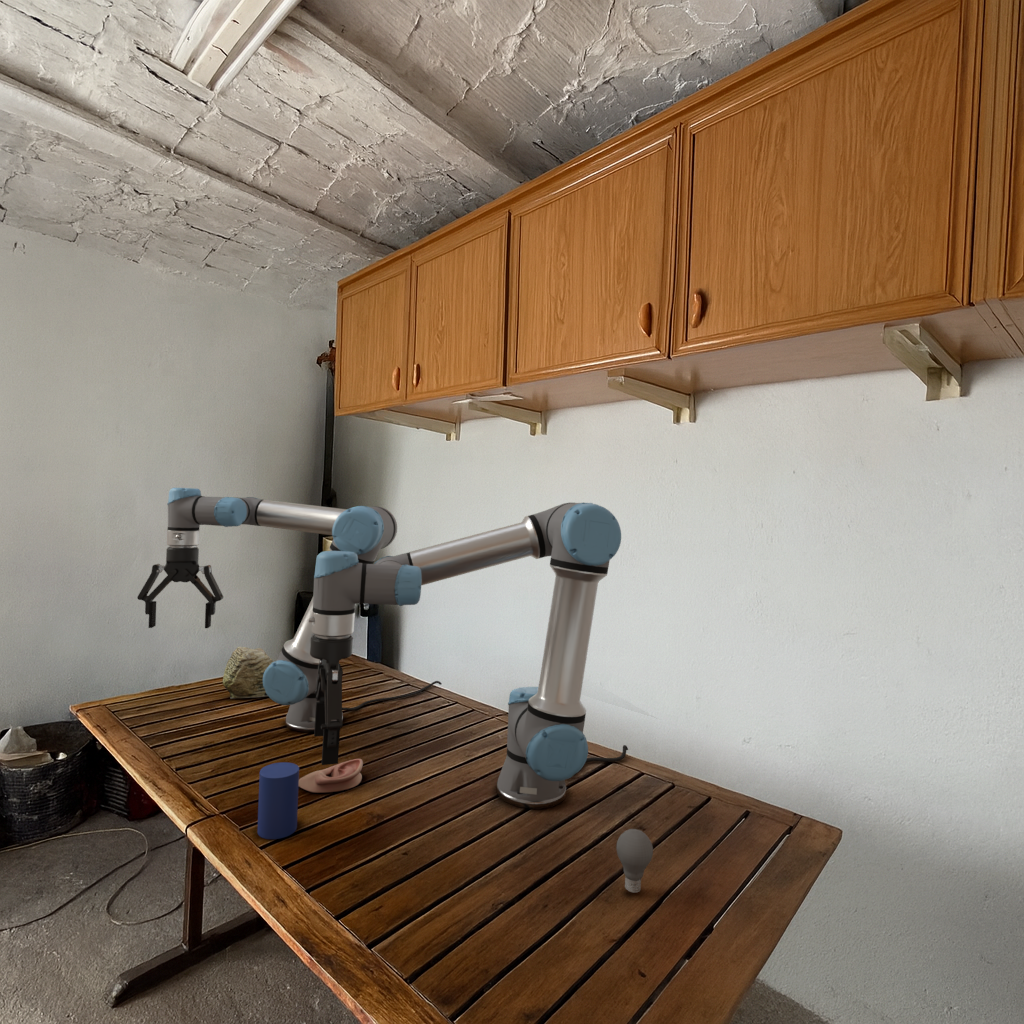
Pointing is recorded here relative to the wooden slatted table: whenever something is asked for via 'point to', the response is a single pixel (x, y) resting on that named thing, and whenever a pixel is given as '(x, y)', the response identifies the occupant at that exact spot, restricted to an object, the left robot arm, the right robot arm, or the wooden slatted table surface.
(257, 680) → the fossil
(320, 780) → the anatomical model
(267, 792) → the blue cylinder
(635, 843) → the light bulb
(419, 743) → the wooden slatted table surface
